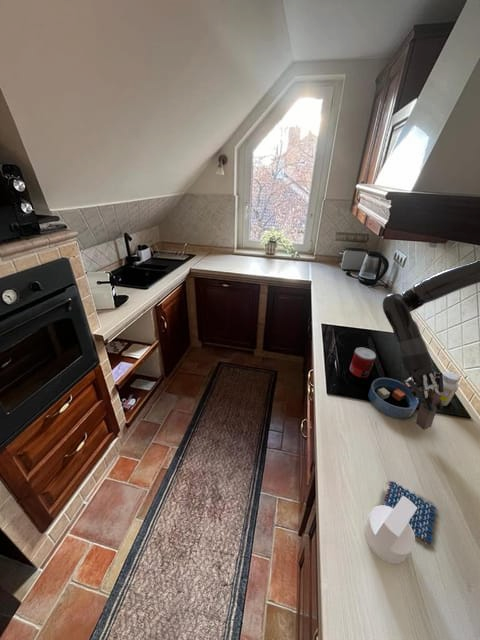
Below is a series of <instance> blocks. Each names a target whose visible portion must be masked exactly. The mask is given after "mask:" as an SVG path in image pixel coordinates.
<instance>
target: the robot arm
mask: <svg viewBox="0 0 480 640" xmlns="http://www.w3.org/2000/svg"><path fill="white" fill-rule="evenodd" d="M479 283H480V259H478V260H476V261H473V262H470V263H467V264H463V265H459V266H455V267H451V268H448V269H445V270H442V271H439V272H437V273H434V274H433V275H431V276H428V277H426V278H424V279H423V280H420V281H419V282H417V283H415V284H414V285H412V287H410V288H409V289H407V290H405V291H403V292H401V293H397V292H395V293H389V294H387V295H386V296H384V298H383V300H382V304H381V305H382V306H381V307H382V310H383V313H384V315H385V317H386V319H387V321H388V323H389V325H390V326H391V327H390V328H392V331H393V335H394V338H395V341H396V343H397V349H398V352H399V355H400V358H401V361H402V364H403V366H404V370H406V371H407V372H408V378H407V379H404V380H403V381H402V383H404V385H405V386H406V387H407V389H408V390H409V391H410V393H411V394H412V395H413V397H414V398H418V399H420V403H421V402H422V405H423V408H424V409H425V411H428V412H432V411H434V410H433V407H432V404H431V402H430V399H429V396H428V392H427V391H430V390H432V389H433V391H434V392H435V393H437V394H439V395H440V393H441V392H443V391H444V390H443V372H435V370H434V369H433V368H432V367H433V366H434V363H433V359H432V357H431V355H430V352H429V348H428V346H427V343H426V342H425V340H424V337H423V335H422V332H421V330H420V327H419V325H418V323H417V322H416V321H415V320H414V318H413V315H412V313H411V312H413V311H414V310H417V309H419V308H421V307H423V306H424V305H427V304H428V303H432V302H434V301H437V300H439V299H441V298H443V297H447V296H449V295H450V294H453V293H455V292H457V291H460V290H463V289H466V288H468V287H470V286H474V285H477V284H479ZM437 385H439V388H437V387H438V386H437ZM443 408H444V406H442V403H441V400H440V401H439V404H438V407H437V410H441V409H443Z"/></svg>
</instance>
